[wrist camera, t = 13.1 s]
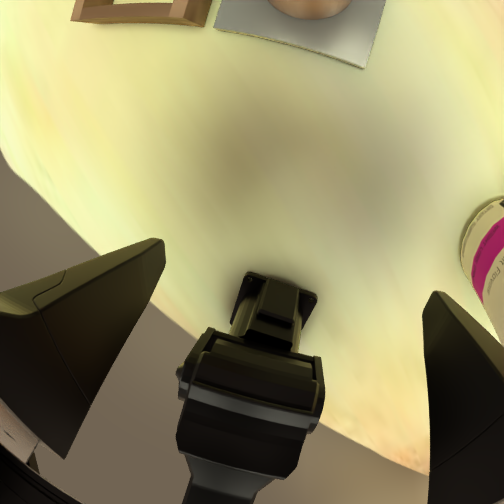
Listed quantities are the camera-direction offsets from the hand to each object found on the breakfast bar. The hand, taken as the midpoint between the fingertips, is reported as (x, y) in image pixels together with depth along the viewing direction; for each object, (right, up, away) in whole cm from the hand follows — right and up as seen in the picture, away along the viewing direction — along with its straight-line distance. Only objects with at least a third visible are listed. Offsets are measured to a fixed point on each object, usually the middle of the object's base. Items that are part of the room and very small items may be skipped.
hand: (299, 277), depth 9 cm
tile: (+2, +18, +4) cm, 19 cm away
